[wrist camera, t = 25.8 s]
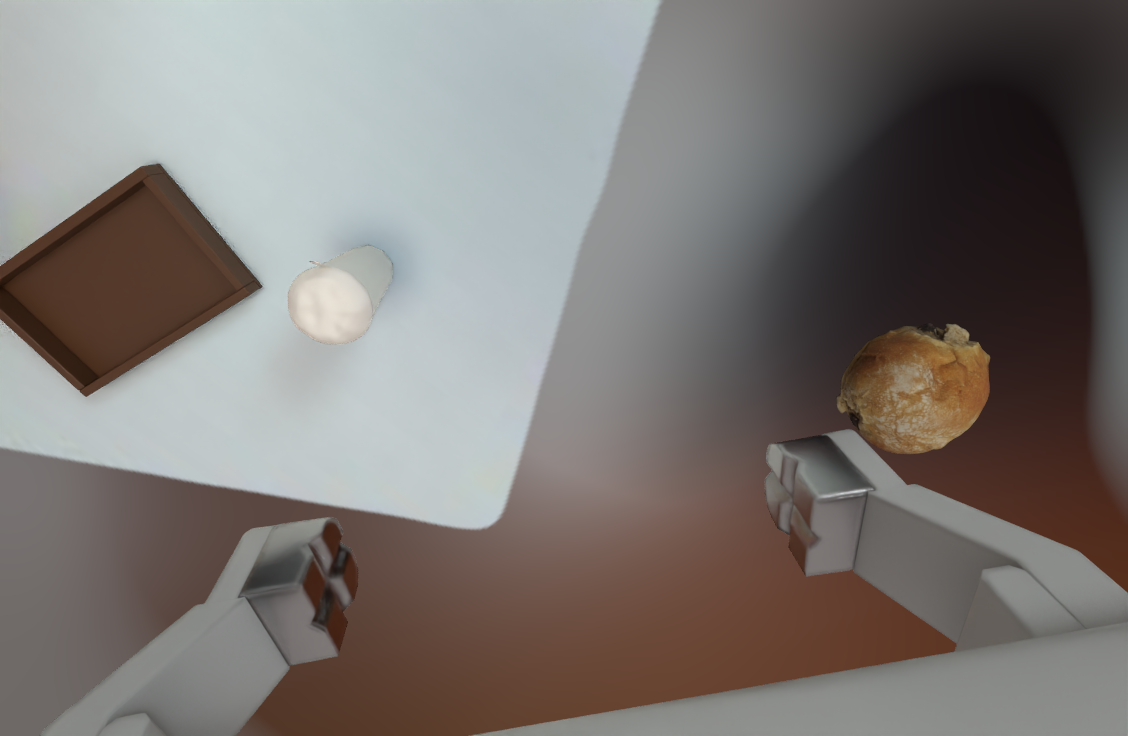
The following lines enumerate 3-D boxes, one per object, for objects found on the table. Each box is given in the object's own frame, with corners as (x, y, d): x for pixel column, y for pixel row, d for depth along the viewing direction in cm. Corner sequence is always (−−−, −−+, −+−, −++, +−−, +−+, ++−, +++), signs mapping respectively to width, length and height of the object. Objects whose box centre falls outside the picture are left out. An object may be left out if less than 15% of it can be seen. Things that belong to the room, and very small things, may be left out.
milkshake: (403, 226, 37) (360, 266, 28) (403, 302, 39) (363, 362, 30) (333, 218, 36) (266, 256, 27) (337, 296, 39) (276, 354, 30)
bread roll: (810, 341, 46) (814, 409, 40) (950, 283, 39) (977, 354, 34) (867, 417, 49) (878, 489, 43) (1004, 374, 43) (1037, 453, 37)
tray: (-8, 281, 37) (-34, 289, 36) (159, 163, 35) (140, 166, 33) (103, 385, 41) (85, 397, 39) (262, 286, 38) (250, 294, 37)
